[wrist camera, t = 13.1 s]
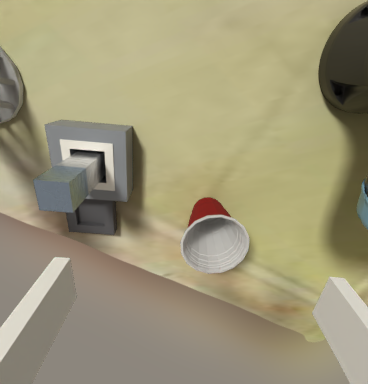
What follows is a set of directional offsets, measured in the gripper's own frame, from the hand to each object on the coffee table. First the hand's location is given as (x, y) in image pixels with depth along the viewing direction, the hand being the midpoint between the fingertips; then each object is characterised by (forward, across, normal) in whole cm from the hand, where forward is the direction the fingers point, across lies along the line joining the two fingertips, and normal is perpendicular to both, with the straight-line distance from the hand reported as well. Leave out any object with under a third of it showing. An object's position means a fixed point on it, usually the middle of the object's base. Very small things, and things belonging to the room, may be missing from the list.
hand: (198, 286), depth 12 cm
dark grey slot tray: (+31, -18, -15) cm, 39 cm away
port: (+31, -16, -4) cm, 35 cm away
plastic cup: (+32, +5, -13) cm, 34 cm away
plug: (+30, -16, -4) cm, 34 cm away
